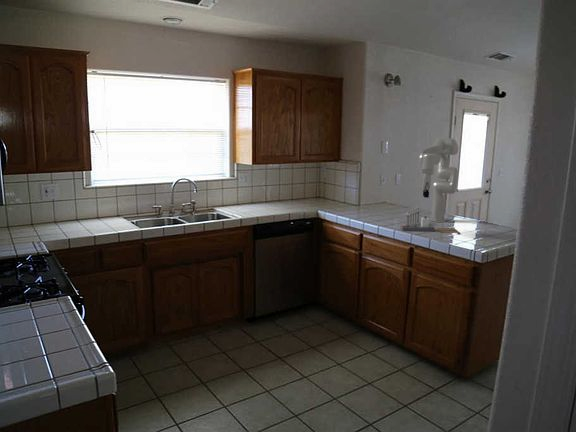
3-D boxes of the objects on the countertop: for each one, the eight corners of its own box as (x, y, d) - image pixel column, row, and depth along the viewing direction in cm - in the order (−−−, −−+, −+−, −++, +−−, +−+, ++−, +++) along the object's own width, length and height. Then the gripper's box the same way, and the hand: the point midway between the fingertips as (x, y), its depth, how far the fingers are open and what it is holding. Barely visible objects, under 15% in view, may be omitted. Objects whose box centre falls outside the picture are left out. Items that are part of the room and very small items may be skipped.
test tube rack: (415, 223, 337) (417, 206, 334) (421, 224, 334) (422, 206, 331) (402, 229, 317) (403, 211, 315) (408, 229, 315) (409, 211, 312)
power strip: (400, 229, 314) (400, 224, 313) (431, 230, 313) (432, 225, 312) (402, 232, 307) (402, 226, 307) (434, 232, 306) (434, 227, 305)
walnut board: (435, 229, 316) (435, 227, 315) (454, 229, 315) (454, 228, 314) (440, 233, 303) (440, 232, 303) (459, 234, 302) (460, 232, 302)
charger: (420, 229, 312) (421, 215, 310) (427, 229, 311) (428, 215, 309) (421, 230, 308) (422, 216, 306) (428, 230, 307) (429, 216, 305)
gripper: (421, 171, 313) (419, 195, 316) (422, 172, 296) (420, 197, 299) (432, 171, 311) (430, 195, 314) (434, 173, 294) (432, 198, 297)
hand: (425, 196), depth 306 cm, fingers open, 9 cm apart
